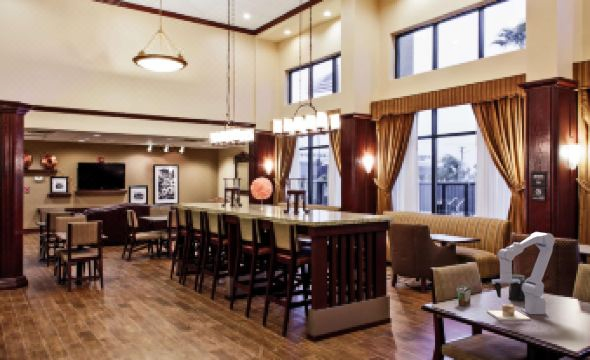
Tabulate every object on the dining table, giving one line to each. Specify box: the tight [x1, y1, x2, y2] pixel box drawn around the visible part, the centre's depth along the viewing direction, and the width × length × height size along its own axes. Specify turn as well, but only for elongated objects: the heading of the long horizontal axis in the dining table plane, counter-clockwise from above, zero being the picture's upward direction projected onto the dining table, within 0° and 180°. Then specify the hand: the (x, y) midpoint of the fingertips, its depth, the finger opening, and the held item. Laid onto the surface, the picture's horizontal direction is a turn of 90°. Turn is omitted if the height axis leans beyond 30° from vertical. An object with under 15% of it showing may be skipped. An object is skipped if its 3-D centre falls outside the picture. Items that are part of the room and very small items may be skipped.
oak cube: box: [501, 303, 515, 317], centre depth 227 cm, size 5×5×5 cm
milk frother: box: [507, 273, 526, 303], centre depth 259 cm, size 14×16×15 cm
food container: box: [456, 285, 472, 308], centre depth 250 cm, size 12×6×10 cm, turn 141°
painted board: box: [486, 310, 532, 322], centre depth 227 cm, size 16×14×1 cm
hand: (506, 297), depth 230 cm, fingers open, 7 cm apart
